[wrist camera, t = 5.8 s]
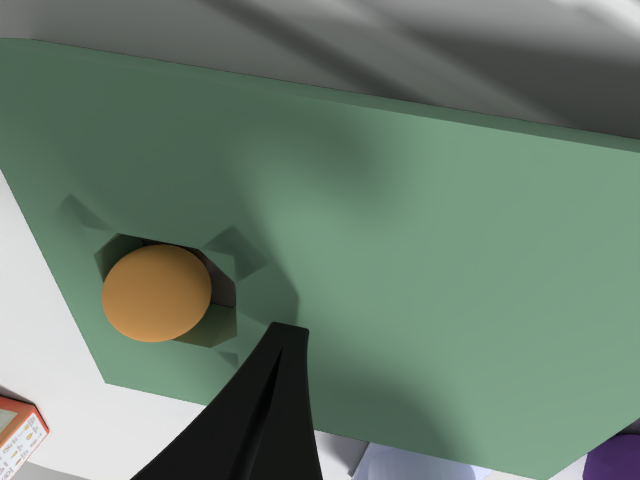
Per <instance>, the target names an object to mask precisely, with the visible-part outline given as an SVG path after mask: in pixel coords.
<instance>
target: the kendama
mask: <svg viewBox="0 0 640 480" xmlns="http://www.w3.org/2000/svg"><path fill="white" fill-rule="evenodd" d="M582 477H583V480H640V435H630V434H629V435H616V436H612V437H610V438H609V439H608V440H606V441H605V442H603V443H602V444H600V445H599V446H597V447H596V448H594V449H593V450H591V451H590V452H588V455H587V459H586V463H585V467H584V472H583V476H582Z"/></svg>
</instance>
